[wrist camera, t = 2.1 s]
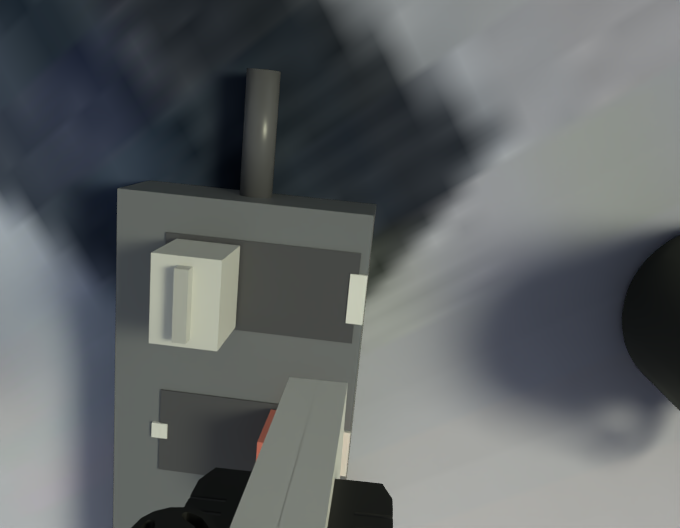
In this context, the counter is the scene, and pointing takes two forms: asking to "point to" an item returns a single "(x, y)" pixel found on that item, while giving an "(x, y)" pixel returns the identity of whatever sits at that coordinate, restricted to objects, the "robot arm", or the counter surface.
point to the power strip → (251, 318)
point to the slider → (193, 294)
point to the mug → (656, 319)
